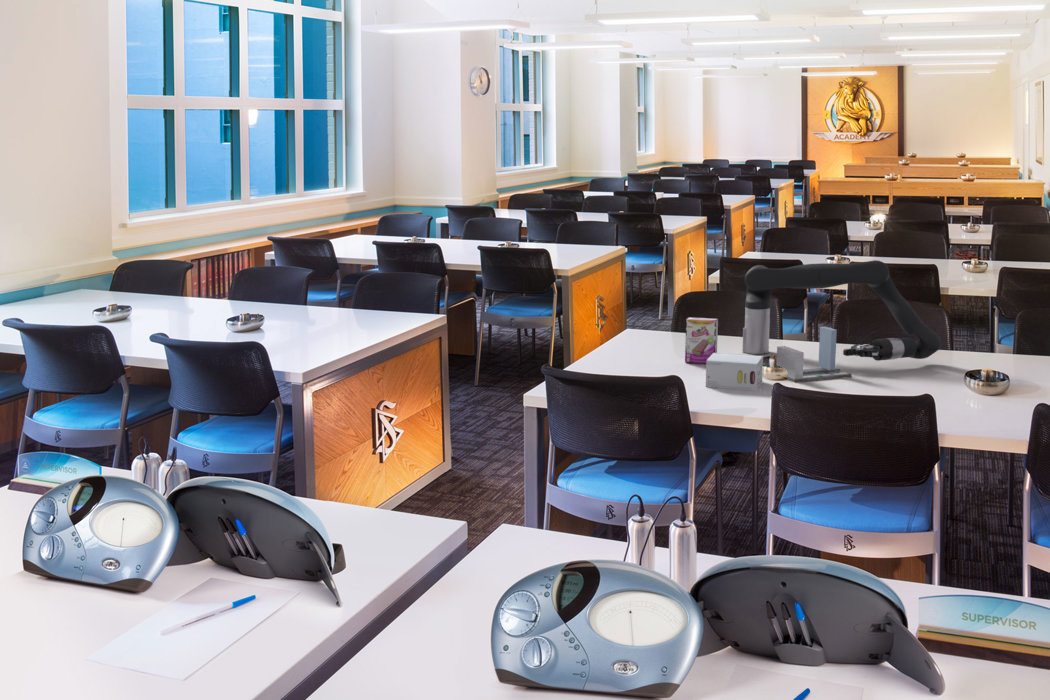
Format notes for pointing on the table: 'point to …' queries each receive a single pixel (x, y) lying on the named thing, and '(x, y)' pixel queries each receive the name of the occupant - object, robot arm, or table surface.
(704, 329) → the candy bar box
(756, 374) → the supplement box
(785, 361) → the grey bookend stand
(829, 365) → the light blue flat block
